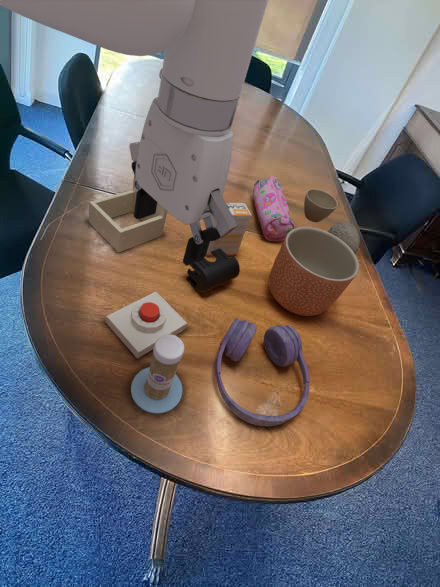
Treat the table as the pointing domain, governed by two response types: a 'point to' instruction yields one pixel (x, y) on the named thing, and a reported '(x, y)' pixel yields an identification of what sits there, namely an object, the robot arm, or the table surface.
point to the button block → (144, 324)
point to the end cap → (213, 271)
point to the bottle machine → (132, 234)
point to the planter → (311, 271)
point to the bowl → (318, 205)
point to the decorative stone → (346, 234)
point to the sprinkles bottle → (163, 365)
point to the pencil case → (272, 209)
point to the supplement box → (234, 238)
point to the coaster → (149, 403)
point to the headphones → (281, 350)
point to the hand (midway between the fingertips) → (168, 237)
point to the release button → (149, 312)
